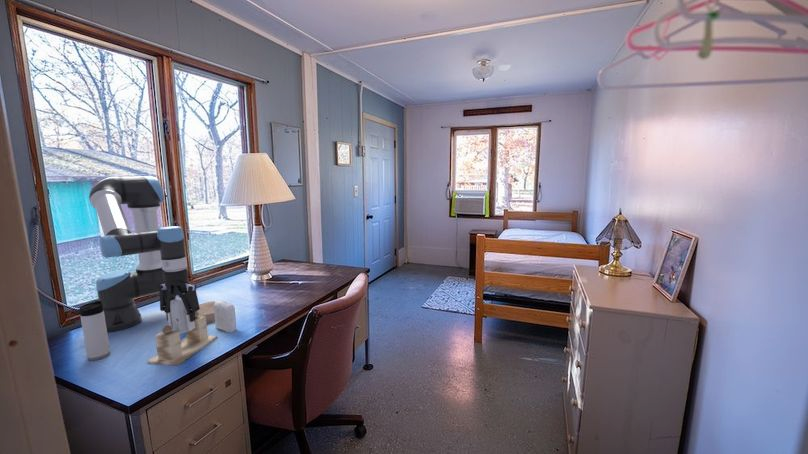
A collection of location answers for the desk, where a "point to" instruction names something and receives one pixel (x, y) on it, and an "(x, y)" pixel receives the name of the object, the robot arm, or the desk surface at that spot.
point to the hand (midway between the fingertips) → (182, 328)
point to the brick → (207, 311)
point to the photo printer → (224, 316)
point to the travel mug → (94, 330)
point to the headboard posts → (181, 343)
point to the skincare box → (178, 315)
